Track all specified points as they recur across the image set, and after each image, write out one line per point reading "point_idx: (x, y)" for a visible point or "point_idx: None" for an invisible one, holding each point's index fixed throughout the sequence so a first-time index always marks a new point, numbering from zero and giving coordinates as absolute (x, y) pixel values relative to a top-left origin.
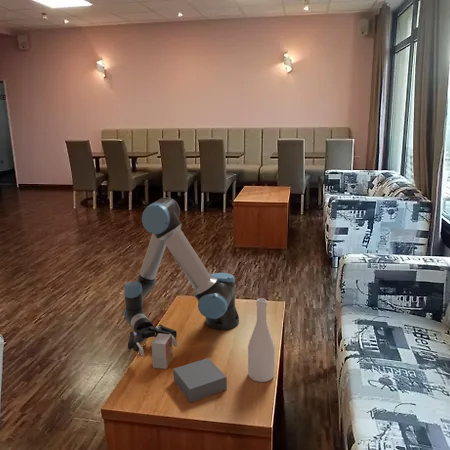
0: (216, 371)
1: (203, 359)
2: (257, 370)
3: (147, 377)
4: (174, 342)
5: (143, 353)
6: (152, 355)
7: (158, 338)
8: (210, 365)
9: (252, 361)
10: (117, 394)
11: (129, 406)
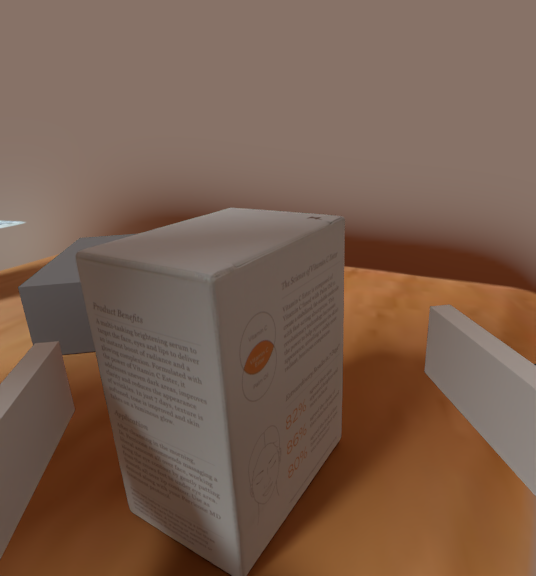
0: (82, 248)
1: (50, 284)
2: None
3: (383, 377)
4: (55, 382)
5: (429, 342)
6: (341, 336)
7: (256, 233)
8: (67, 264)
9: None
10: (530, 325)
11: (446, 287)
